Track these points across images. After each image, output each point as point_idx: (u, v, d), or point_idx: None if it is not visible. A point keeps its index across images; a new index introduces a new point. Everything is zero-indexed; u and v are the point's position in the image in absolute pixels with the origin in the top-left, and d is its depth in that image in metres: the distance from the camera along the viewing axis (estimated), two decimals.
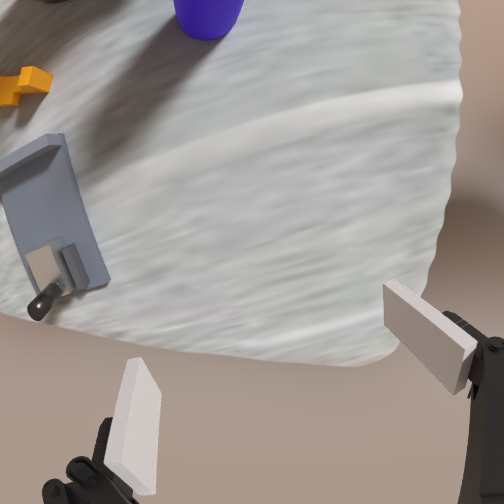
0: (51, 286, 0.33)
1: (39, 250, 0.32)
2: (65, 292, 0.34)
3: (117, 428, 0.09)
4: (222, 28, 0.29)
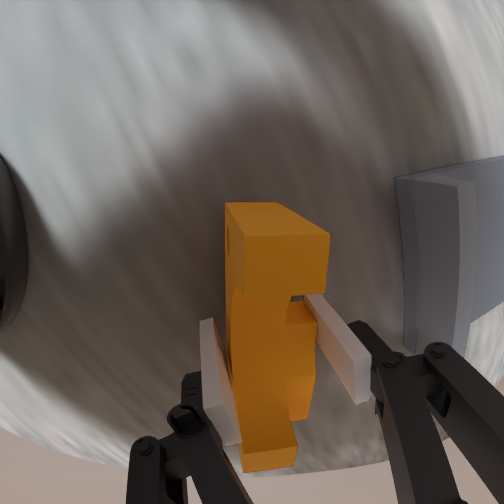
0: None
1: None
2: None
3: (209, 376, 0.12)
4: None
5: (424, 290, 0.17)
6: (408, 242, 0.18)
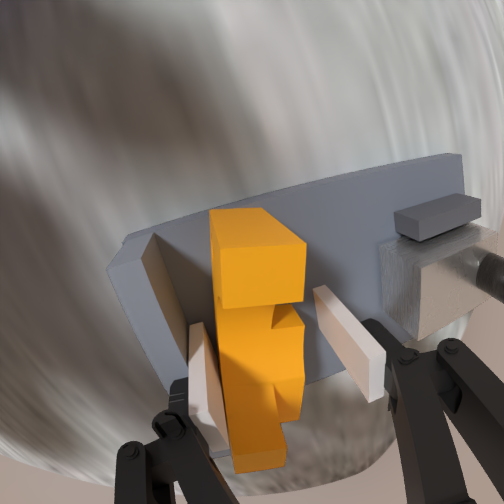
0: (491, 272, 0.13)
1: (423, 299, 0.14)
2: (494, 242, 0.14)
3: (196, 382, 0.11)
4: None
5: None
6: None
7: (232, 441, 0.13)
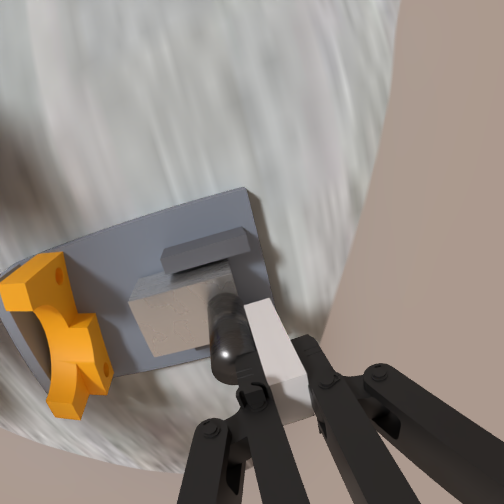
0: (208, 312, 0.18)
1: (141, 325, 0.19)
2: (228, 283, 0.19)
3: (267, 355, 0.12)
4: None
5: None
6: None
7: (49, 393, 0.18)
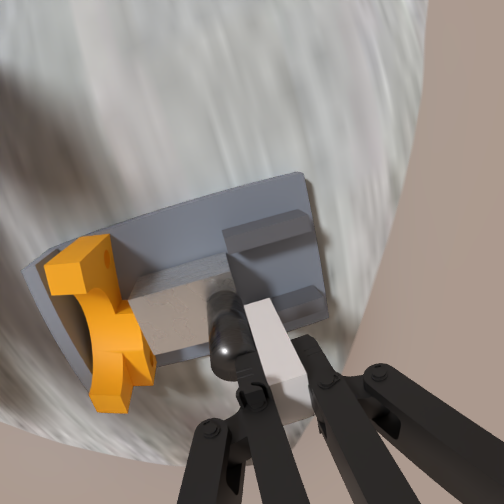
0: (207, 309, 0.18)
1: (141, 323, 0.19)
2: (227, 281, 0.19)
3: (267, 355, 0.12)
4: None
5: None
6: None
7: (91, 386, 0.19)
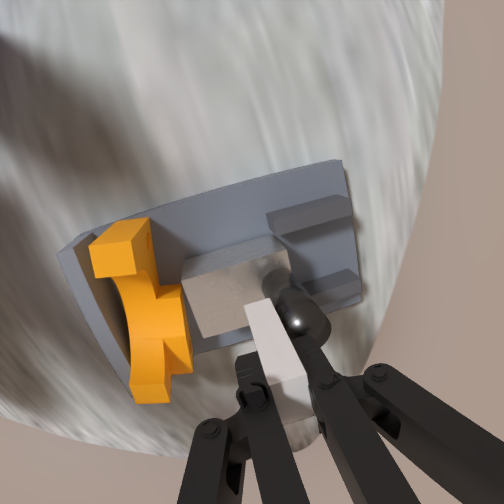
0: (266, 287, 0.19)
1: (193, 304, 0.20)
2: (283, 259, 0.20)
3: (267, 355, 0.12)
4: None
5: None
6: None
7: (131, 376, 0.19)
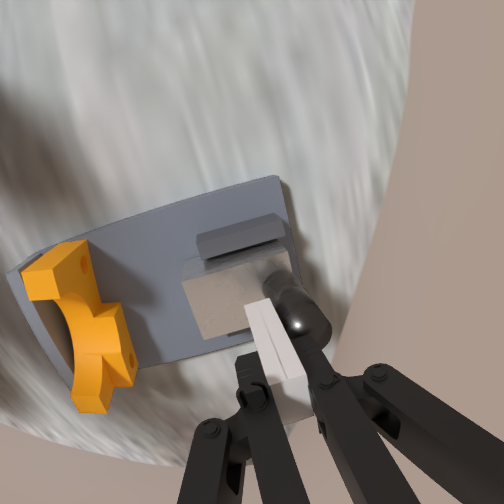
0: (266, 289, 0.19)
1: (193, 306, 0.20)
2: (284, 261, 0.20)
3: (267, 355, 0.12)
4: None
5: None
6: None
7: (73, 387, 0.19)
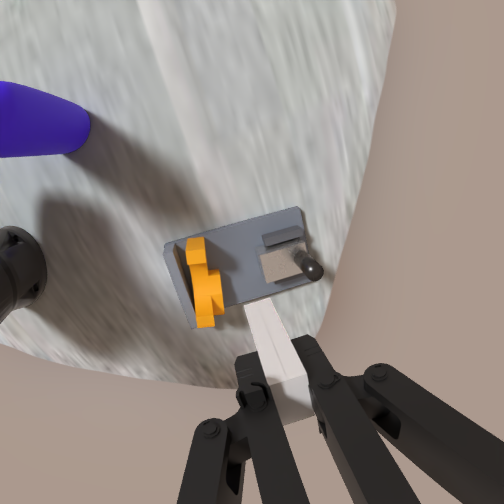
0: (296, 258, 0.44)
1: (264, 266, 0.45)
2: (303, 246, 0.45)
3: (267, 355, 0.12)
4: (81, 111, 0.35)
5: None
6: None
7: (196, 313, 0.44)
